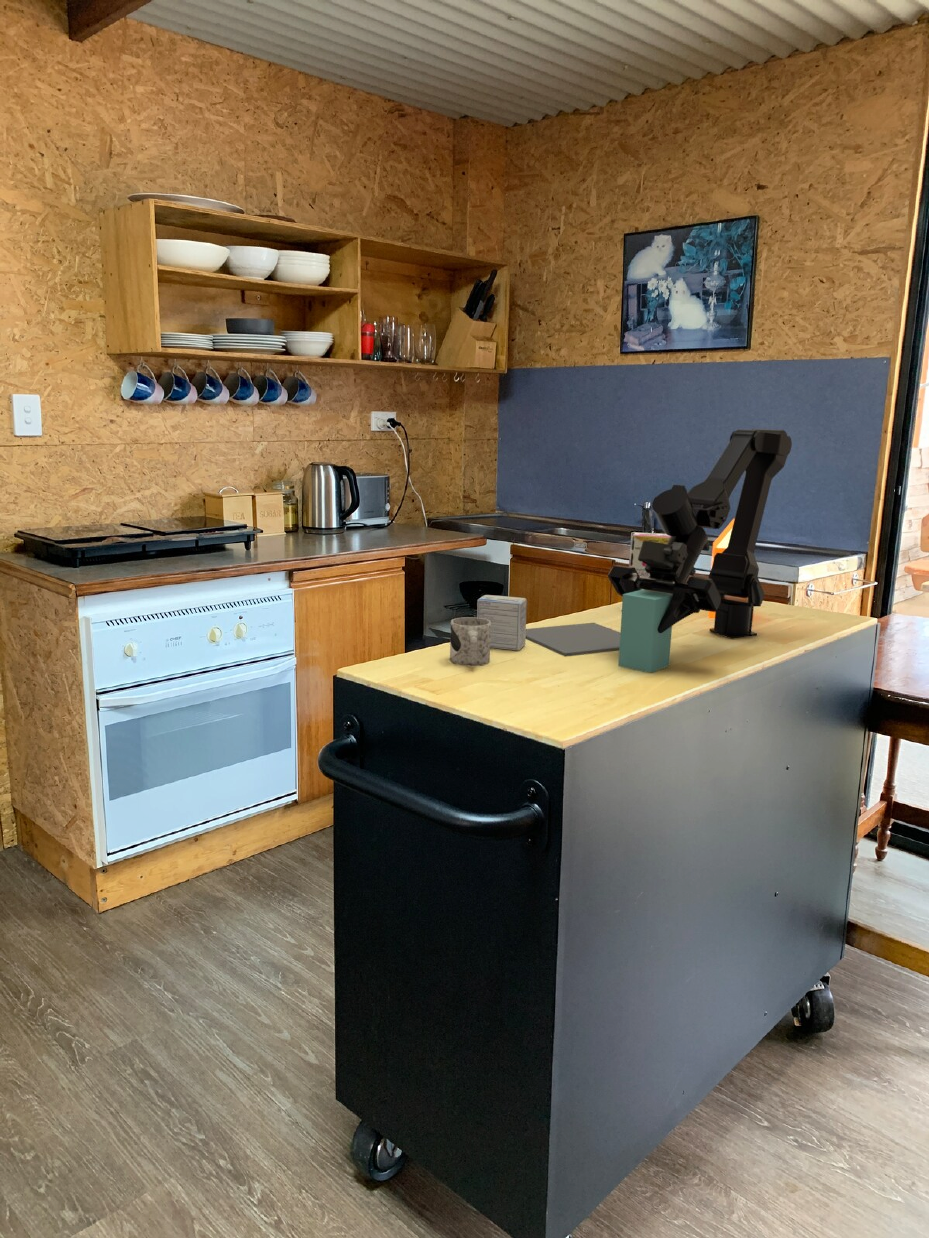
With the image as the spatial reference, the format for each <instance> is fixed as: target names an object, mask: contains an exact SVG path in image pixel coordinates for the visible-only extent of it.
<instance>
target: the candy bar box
mask: <svg viewBox="0 0 929 1238" xmlns="http://www.w3.org/2000/svg"><path fill="white" fill-rule="evenodd" d="M670 537H671V536H669V535H667V534H665V533H656V532H655V533H654V532H653V533H652V532H636V531H633V532H631V533H630V548H629V558H628V559H629V562H628V567H634V568H635V569H636V571H637V573H638V575H639V576H642V577H649V576H650V573H647V572H646V570H645V567H646V564H645V563H643V562H642V561H639V560H638V556H639V553H640V550H641V546H642V543H643V541H649V542H657V543H664V544H667V543H668V541H669V539H670ZM644 590H646V589H644ZM648 591H652V590H648Z"/></svg>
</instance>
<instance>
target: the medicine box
mask: <svg viewBox="0 0 929 1238" xmlns="http://www.w3.org/2000/svg"><path fill="white" fill-rule="evenodd" d="M527 602H528V601H527V599H526V598H525V597H516V596H505V595H493V594H492V595H491V594H484V595H482V596H481V597H480V598H478V599H477V603H476V605H477V606H476V607H477V612H476V618H483V619H487V620H489V621H491V638H490V649H491V648H492V649H499V650H502V649H503V650H510V651H511V650H512V651H520V650H521V649H522V648H523V647H524V646H525V645H526V643H527V642H526V640H527V639H526V629H527V604H528V603H527Z"/></svg>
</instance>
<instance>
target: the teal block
mask: <svg viewBox="0 0 929 1238" xmlns="http://www.w3.org/2000/svg"><path fill="white" fill-rule="evenodd" d="M672 596H673V595H672V594H666V593H660V592H654V591H648V590H639V591H634V592H630V593H626V594H623V596H622V605H621V616H620V617H621V618H620V619H621V620H620V621H621V622H620V631H619V632H620V648H619V650H618V652H619V653H618V667H623V668H627V669H631V670H636V671H641V672H645V673H649V674H652V673H654V672H657V671H660V670H662V669H664V667H665V668H668V667H669V666H670V657H671V646H672V645H671V644H672V643H671V642H672V632H673V631H672V629H673V626H671V627H670V628H668V629H667V630H666V631H664V632H663V633H659V632H658V626H659V624H660V621H661V619H662V618H663V616H664V614H665V612H666V610H667V608H668V606H669V605H670V603H671V601H672Z"/></svg>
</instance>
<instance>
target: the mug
mask: <svg viewBox="0 0 929 1238" xmlns="http://www.w3.org/2000/svg"><path fill="white" fill-rule="evenodd" d="M449 636H450V638H449V640H450V643H449V661H450V663H452V664H455V665H458V666H466V667H479V666H484V665H488V664H490V662H491V648H490V638H491V621H489V620H487V619H483V618H477V617H473V616H471V617H470V616H469V617H467V616H466V617H465V616H464V617H456V618H453V619H451V620H450V635H449Z"/></svg>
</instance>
